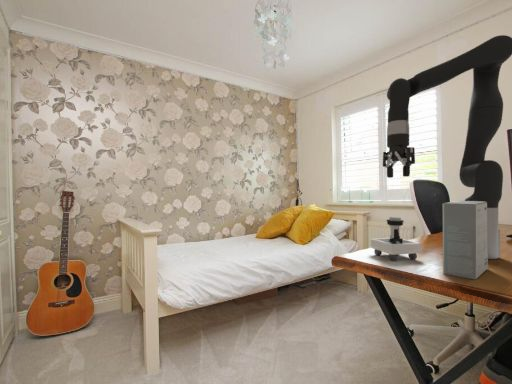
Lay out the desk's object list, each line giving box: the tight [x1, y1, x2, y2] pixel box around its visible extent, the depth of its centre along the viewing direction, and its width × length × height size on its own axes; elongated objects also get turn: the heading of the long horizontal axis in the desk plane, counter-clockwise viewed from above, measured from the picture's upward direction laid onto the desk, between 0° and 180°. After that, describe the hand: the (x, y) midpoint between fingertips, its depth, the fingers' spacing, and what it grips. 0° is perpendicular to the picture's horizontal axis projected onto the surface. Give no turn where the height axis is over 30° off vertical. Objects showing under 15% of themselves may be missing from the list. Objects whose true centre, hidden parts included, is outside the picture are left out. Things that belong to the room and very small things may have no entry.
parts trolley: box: [370, 237, 422, 262], centre depth 96 cm, size 11×11×6 cm
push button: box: [386, 216, 404, 244], centre depth 97 cm, size 7×5×10 cm
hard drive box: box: [442, 200, 489, 280], centre depth 79 cm, size 16×8×20 cm, turn 131°
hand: (397, 177), depth 106 cm, fingers open, 8 cm apart
